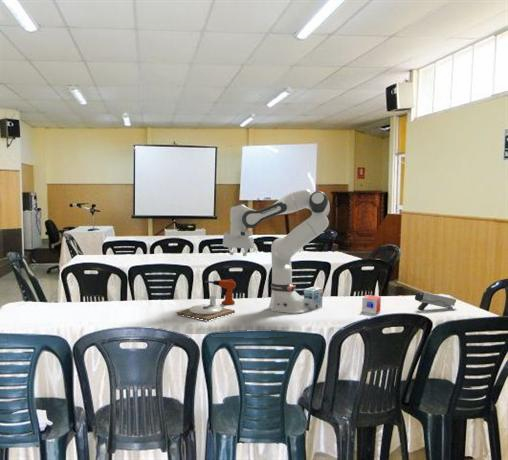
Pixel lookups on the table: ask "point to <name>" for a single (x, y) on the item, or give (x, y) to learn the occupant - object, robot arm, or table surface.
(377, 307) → the puzzle cube
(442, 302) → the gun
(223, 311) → the cardboard mat
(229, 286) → the toy drill
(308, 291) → the light bulb box
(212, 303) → the dial
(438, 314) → the table surface
